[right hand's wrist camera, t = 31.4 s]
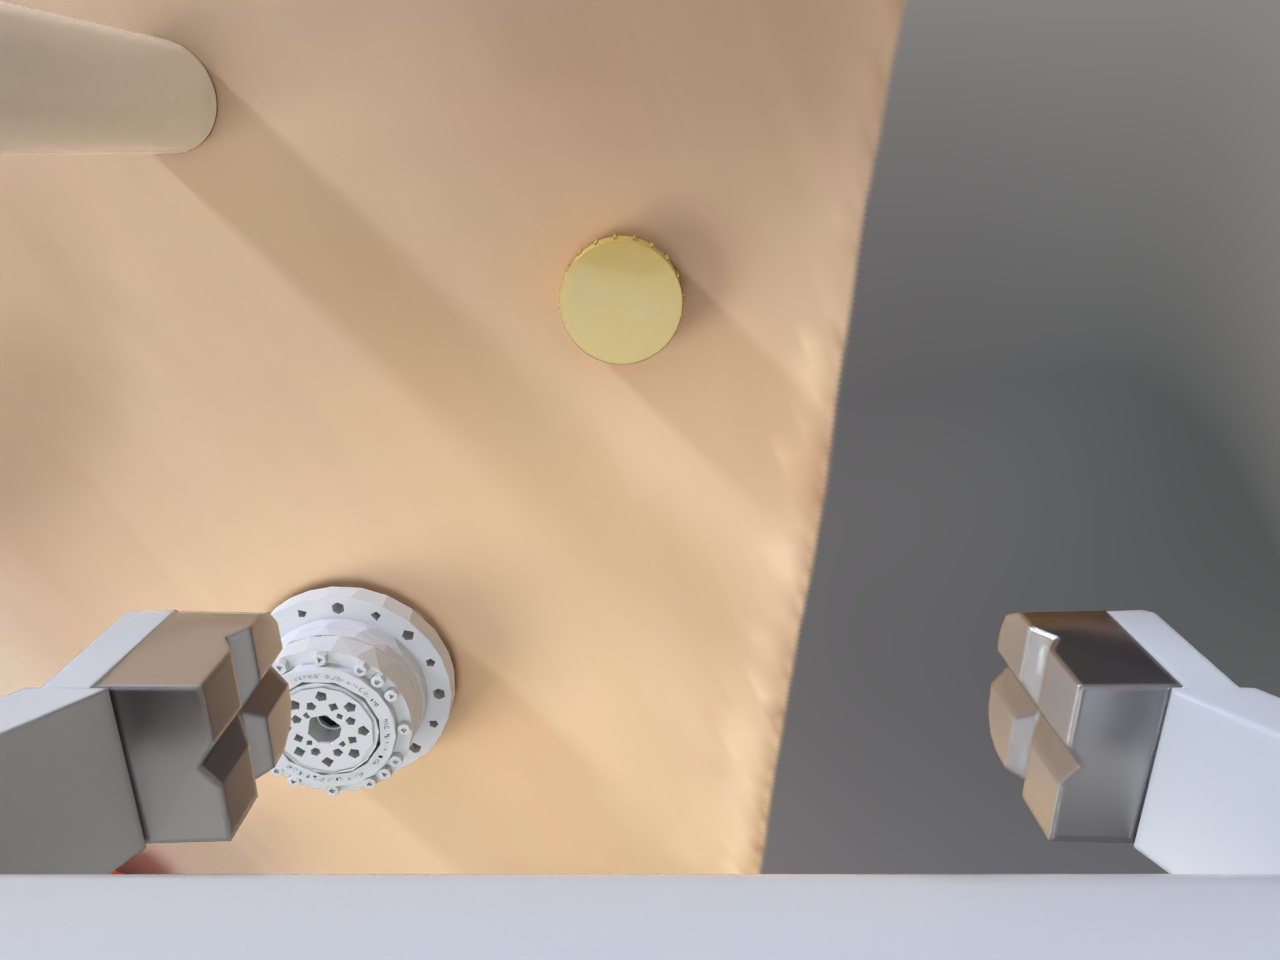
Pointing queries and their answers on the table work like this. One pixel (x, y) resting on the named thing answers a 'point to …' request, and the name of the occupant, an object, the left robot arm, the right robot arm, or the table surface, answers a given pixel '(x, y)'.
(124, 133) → the white cylinder
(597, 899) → the right robot arm
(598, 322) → the lid
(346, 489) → the table surface
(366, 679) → the mechanical component
